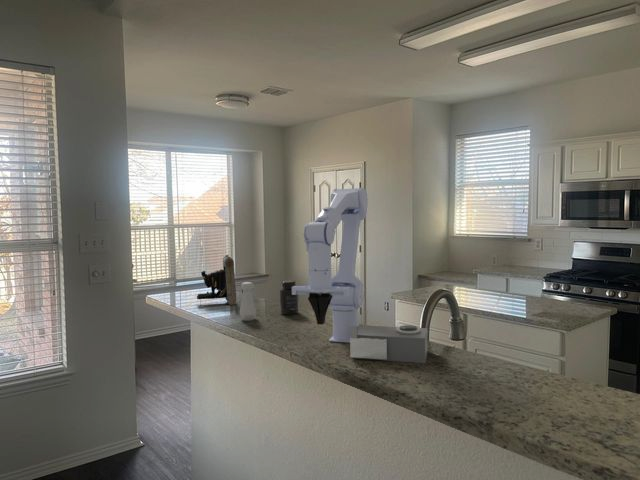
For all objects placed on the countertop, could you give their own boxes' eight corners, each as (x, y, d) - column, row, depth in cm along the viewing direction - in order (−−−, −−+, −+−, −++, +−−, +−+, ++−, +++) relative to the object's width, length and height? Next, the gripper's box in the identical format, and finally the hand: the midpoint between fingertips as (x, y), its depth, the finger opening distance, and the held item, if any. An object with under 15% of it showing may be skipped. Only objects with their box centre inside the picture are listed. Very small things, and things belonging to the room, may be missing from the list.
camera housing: (359, 347, 125) (359, 321, 125) (427, 351, 120) (427, 324, 120) (351, 358, 115) (350, 330, 115) (425, 363, 110) (424, 334, 110)
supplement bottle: (278, 312, 172) (277, 280, 171) (295, 310, 175) (294, 279, 174) (283, 316, 166) (282, 283, 165) (301, 314, 168) (300, 281, 167)
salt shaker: (258, 320, 160) (257, 283, 159) (241, 322, 158) (240, 284, 157) (254, 316, 165) (253, 280, 165) (238, 318, 163) (237, 282, 163)
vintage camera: (197, 304, 193) (193, 257, 192) (234, 300, 198) (231, 254, 196) (198, 309, 184) (194, 260, 183) (237, 305, 189) (234, 256, 187)
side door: (351, 355, 115) (350, 325, 115) (387, 358, 113) (386, 326, 112) (350, 357, 114) (349, 326, 114) (386, 359, 112) (386, 327, 111)
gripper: (287, 271, 114) (288, 325, 115) (344, 272, 110) (345, 328, 110) (296, 267, 121) (297, 319, 121) (350, 268, 117) (351, 322, 117)
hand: (320, 323), depth 116 cm, fingers closed
